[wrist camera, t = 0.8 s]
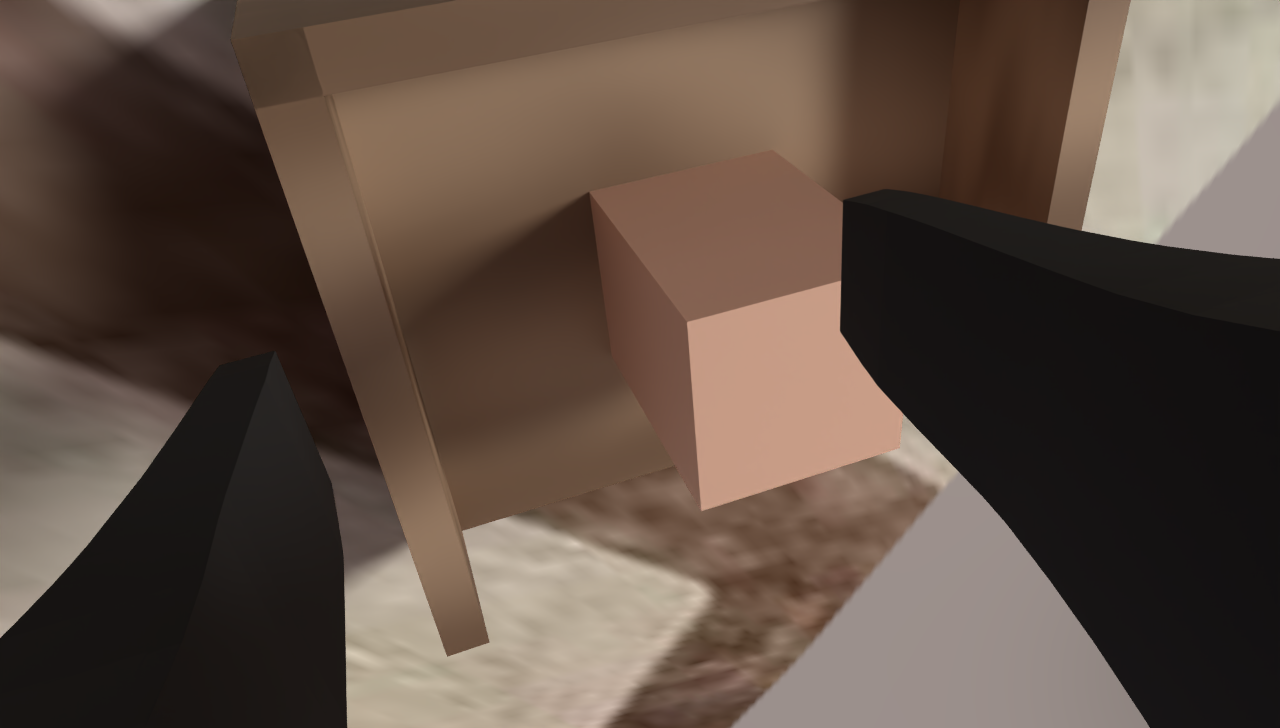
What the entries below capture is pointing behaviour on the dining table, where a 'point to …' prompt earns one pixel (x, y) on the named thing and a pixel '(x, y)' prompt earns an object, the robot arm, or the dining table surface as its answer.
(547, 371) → the box
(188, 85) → the dining table surface
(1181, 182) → the dining table surface
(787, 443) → the block
